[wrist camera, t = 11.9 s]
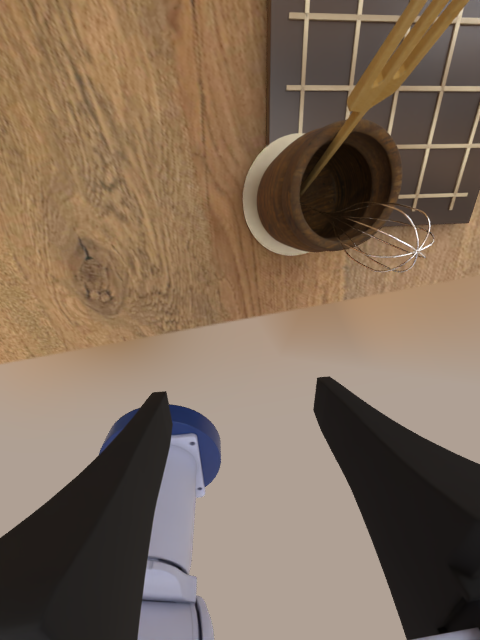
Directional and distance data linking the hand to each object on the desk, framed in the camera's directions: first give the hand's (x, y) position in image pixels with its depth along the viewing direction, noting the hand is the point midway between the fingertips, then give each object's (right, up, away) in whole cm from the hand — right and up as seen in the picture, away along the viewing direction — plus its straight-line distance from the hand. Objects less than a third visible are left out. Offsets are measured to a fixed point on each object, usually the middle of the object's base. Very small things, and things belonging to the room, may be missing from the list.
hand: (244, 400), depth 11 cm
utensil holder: (+4, +12, +5) cm, 14 cm away
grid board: (+9, +18, +5) cm, 20 cm away
